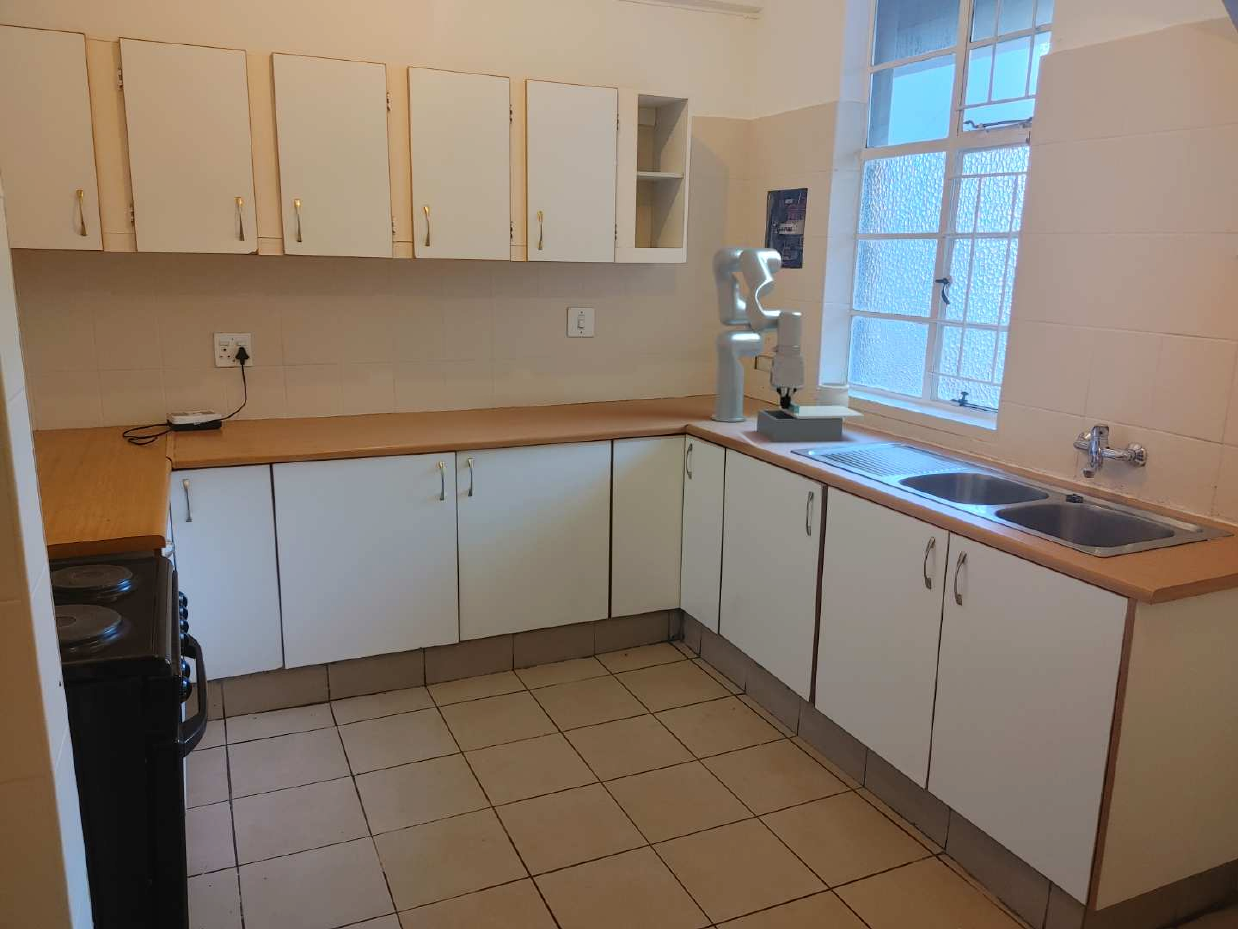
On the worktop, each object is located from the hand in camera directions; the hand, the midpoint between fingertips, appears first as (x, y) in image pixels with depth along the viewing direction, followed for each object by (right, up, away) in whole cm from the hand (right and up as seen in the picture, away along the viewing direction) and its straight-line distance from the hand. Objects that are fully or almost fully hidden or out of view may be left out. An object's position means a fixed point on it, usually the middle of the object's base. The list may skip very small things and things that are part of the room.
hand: (784, 408), depth 293 cm
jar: (+20, -6, +22) cm, 30 cm away
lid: (+12, -1, +2) cm, 12 cm away
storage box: (+5, -10, +3) cm, 11 cm away
